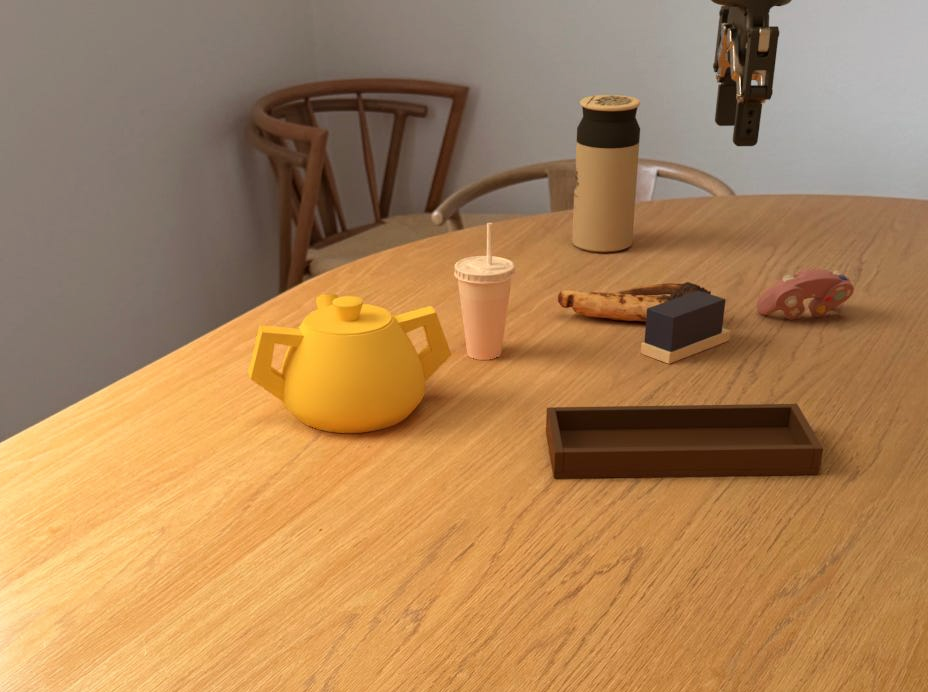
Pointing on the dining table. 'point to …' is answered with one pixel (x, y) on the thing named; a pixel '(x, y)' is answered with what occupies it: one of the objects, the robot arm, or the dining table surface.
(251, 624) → the dining table surface
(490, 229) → the smoothie
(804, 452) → the shallow brown tray
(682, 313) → the navy block
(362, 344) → the teapot
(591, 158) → the travel mug
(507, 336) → the dining table surface
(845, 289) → the video game controller
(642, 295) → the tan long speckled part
